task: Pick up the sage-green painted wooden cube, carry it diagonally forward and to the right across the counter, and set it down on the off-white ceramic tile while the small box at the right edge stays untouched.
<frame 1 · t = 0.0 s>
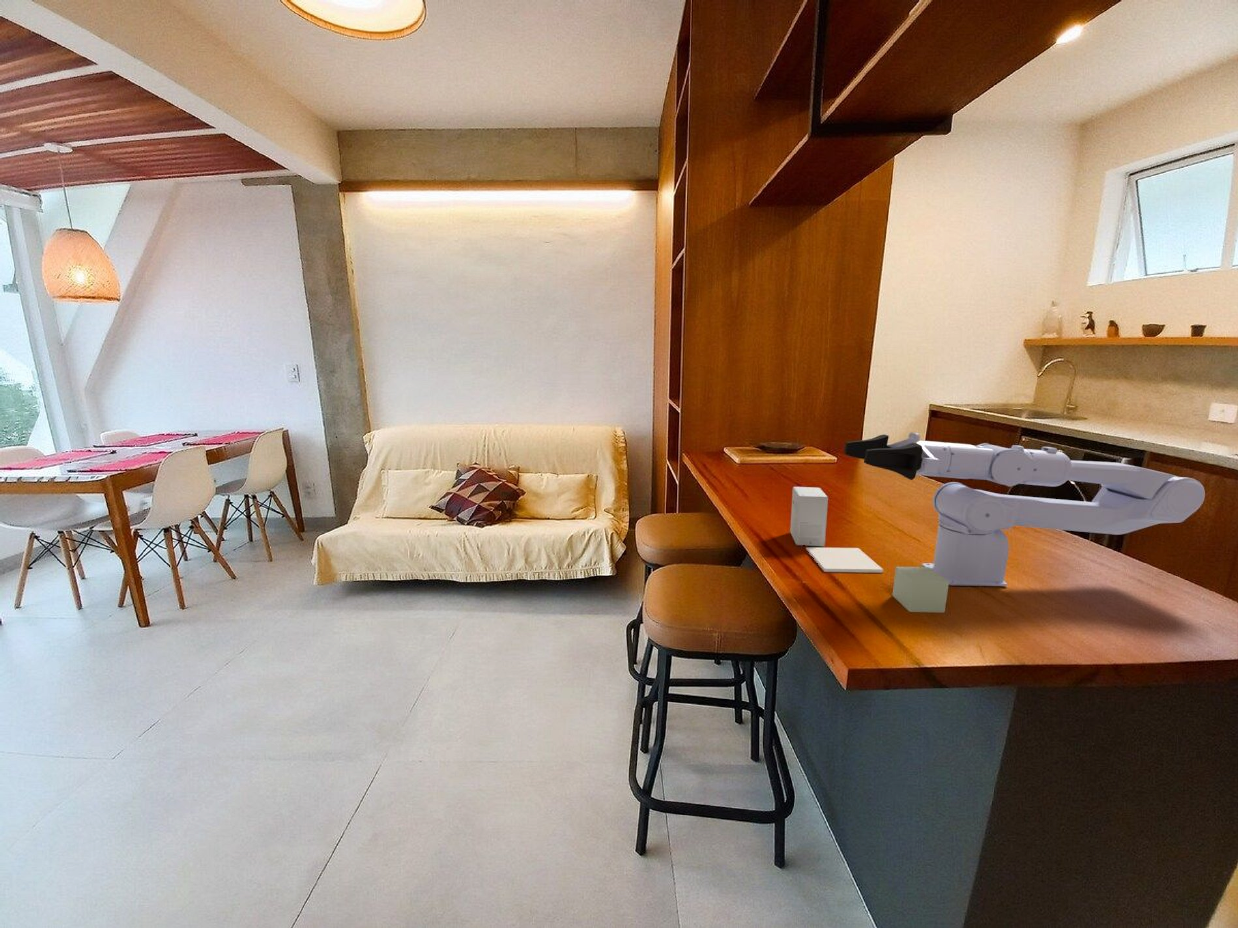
hand: (855, 452, 78), 22 cm above the table, tool horizontal, fingers open, 7 cm apart
small box: (806, 540, 99), on the table
cube: (917, 604, 72), on the table
tile: (842, 560, 88), on the table
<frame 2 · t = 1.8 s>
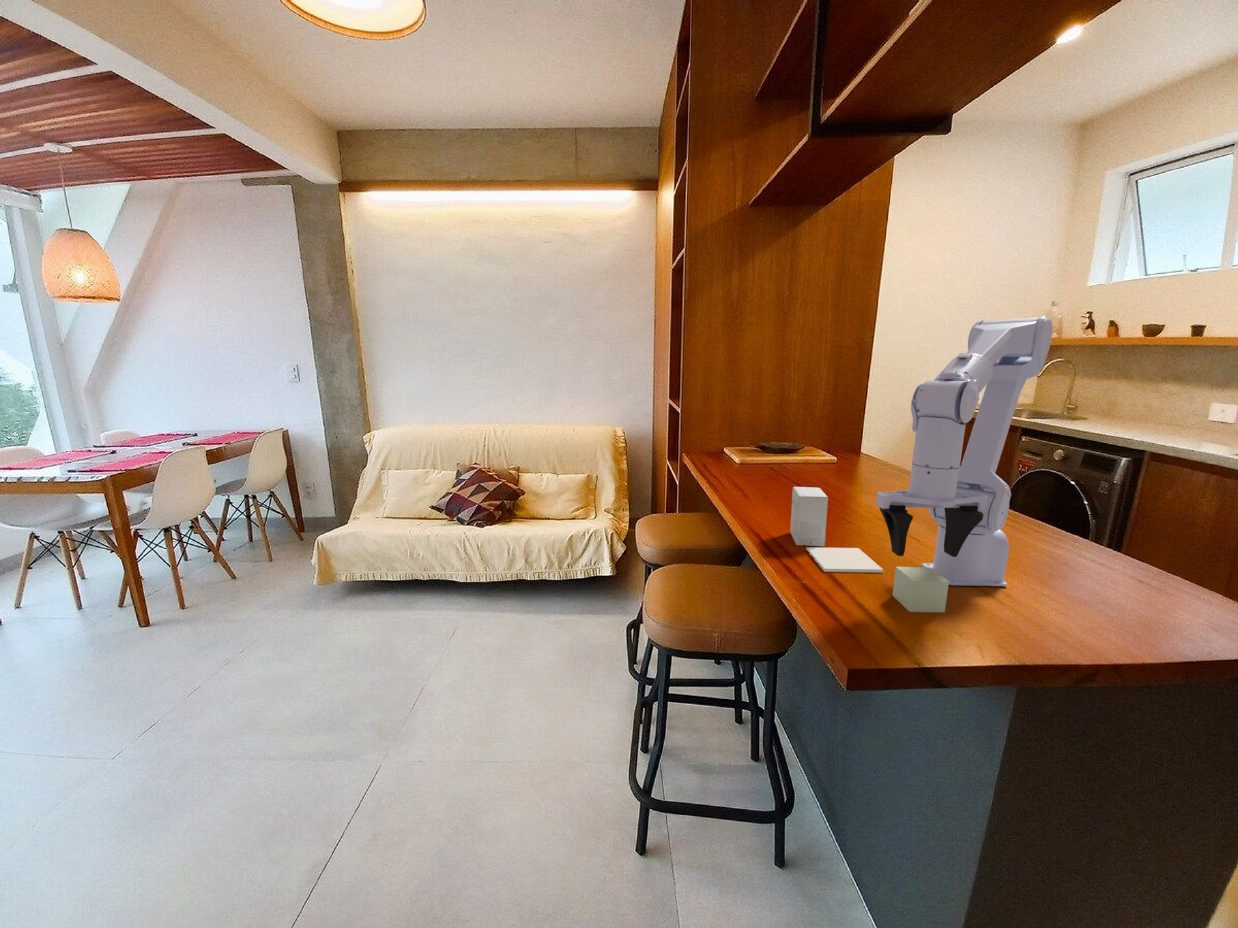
hand: (923, 553, 70), 8 cm above the table, tool pointing down, fingers open, 7 cm apart
nothing on the table moved.
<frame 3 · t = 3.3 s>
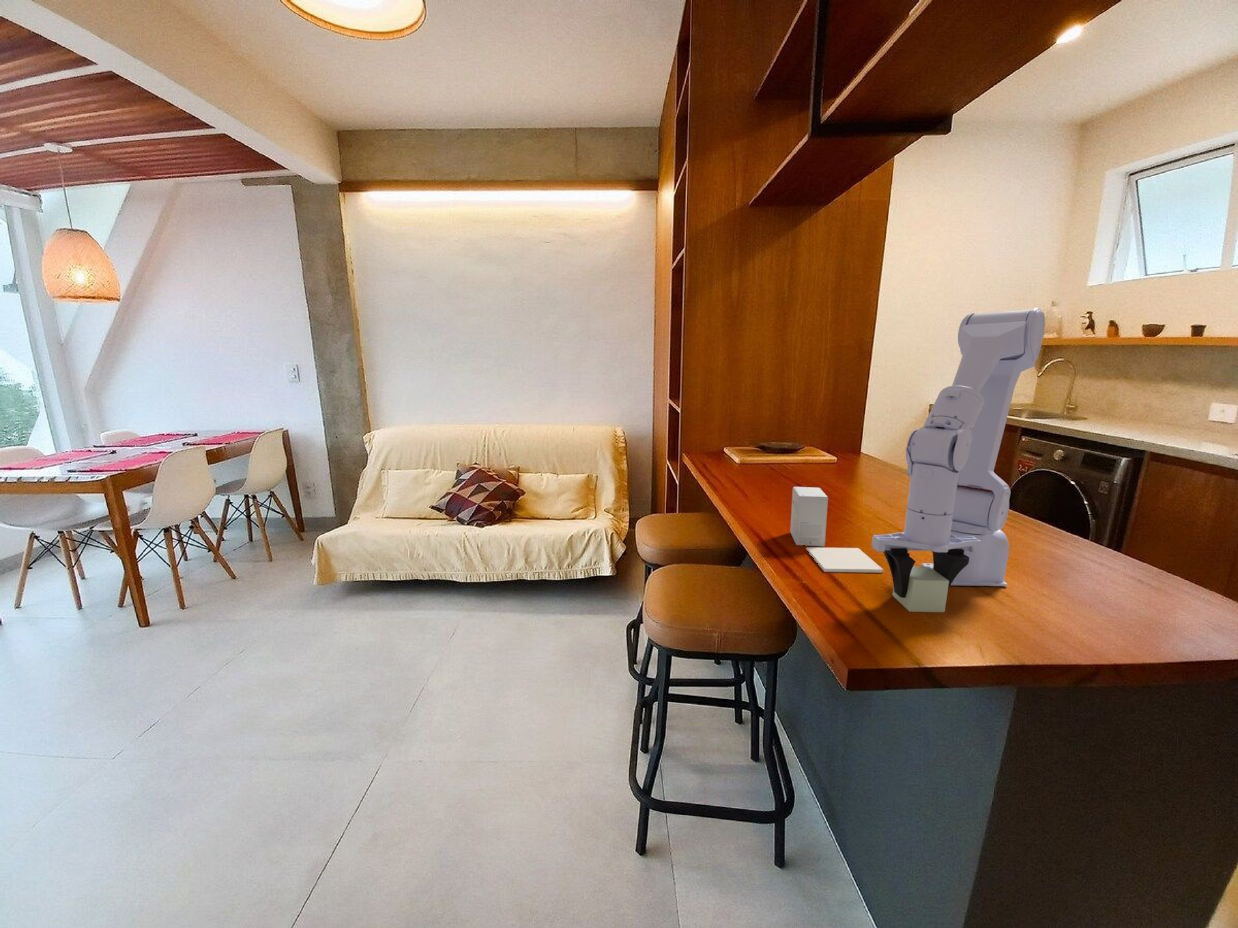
hand: (918, 594, 72), 1 cm above the table, tool pointing down, fingers closed on cube, 5 cm apart
cube: (917, 603, 72), on the table, touching gripper
everything else where it was.
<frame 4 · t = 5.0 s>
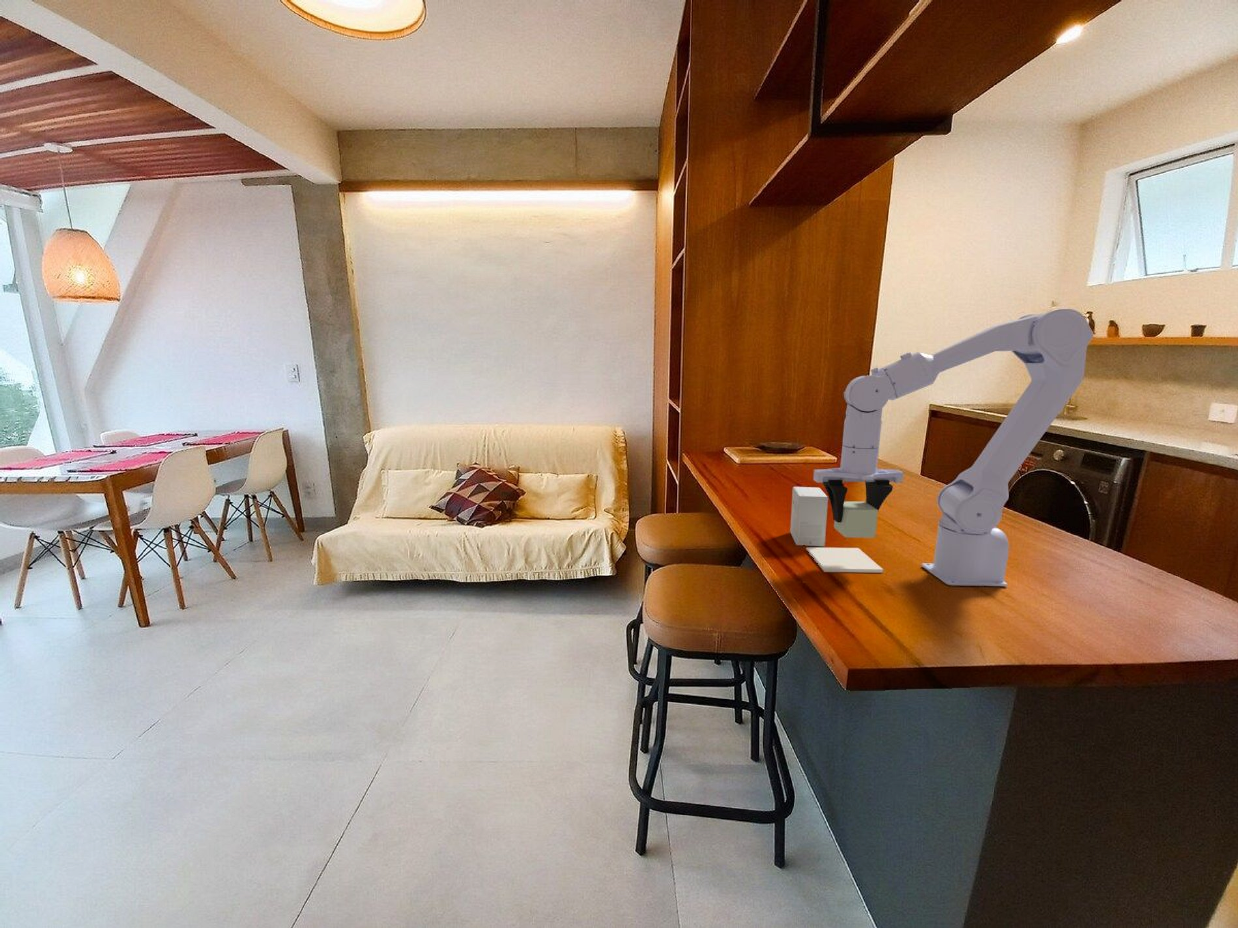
hand: (853, 520, 85), 8 cm above the table, tool pointing down, fingers closed on cube, 5 cm apart
cube: (853, 532, 84), point 7 cm above the table, touching gripper
everything else where it was.
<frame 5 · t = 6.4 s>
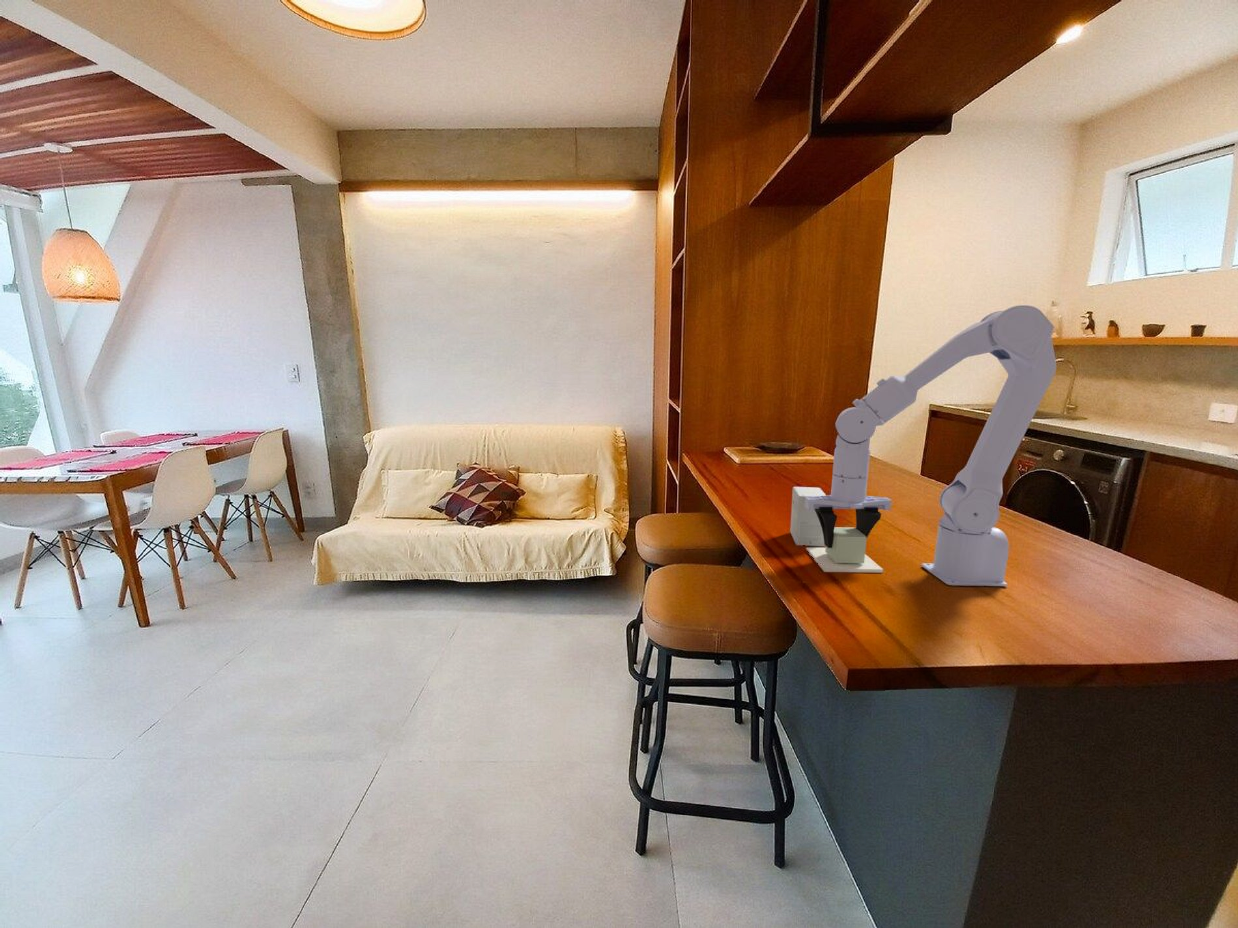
hand: (843, 546, 87), 3 cm above the table, tool pointing down, fingers closed on cube, 5 cm apart
cube: (844, 557, 87), point 1 cm above the table, touching gripper
everything else where it was.
when the fingers open (3 cm above the table, at t = 7.1 s): cube stays where it is, resting on tile.
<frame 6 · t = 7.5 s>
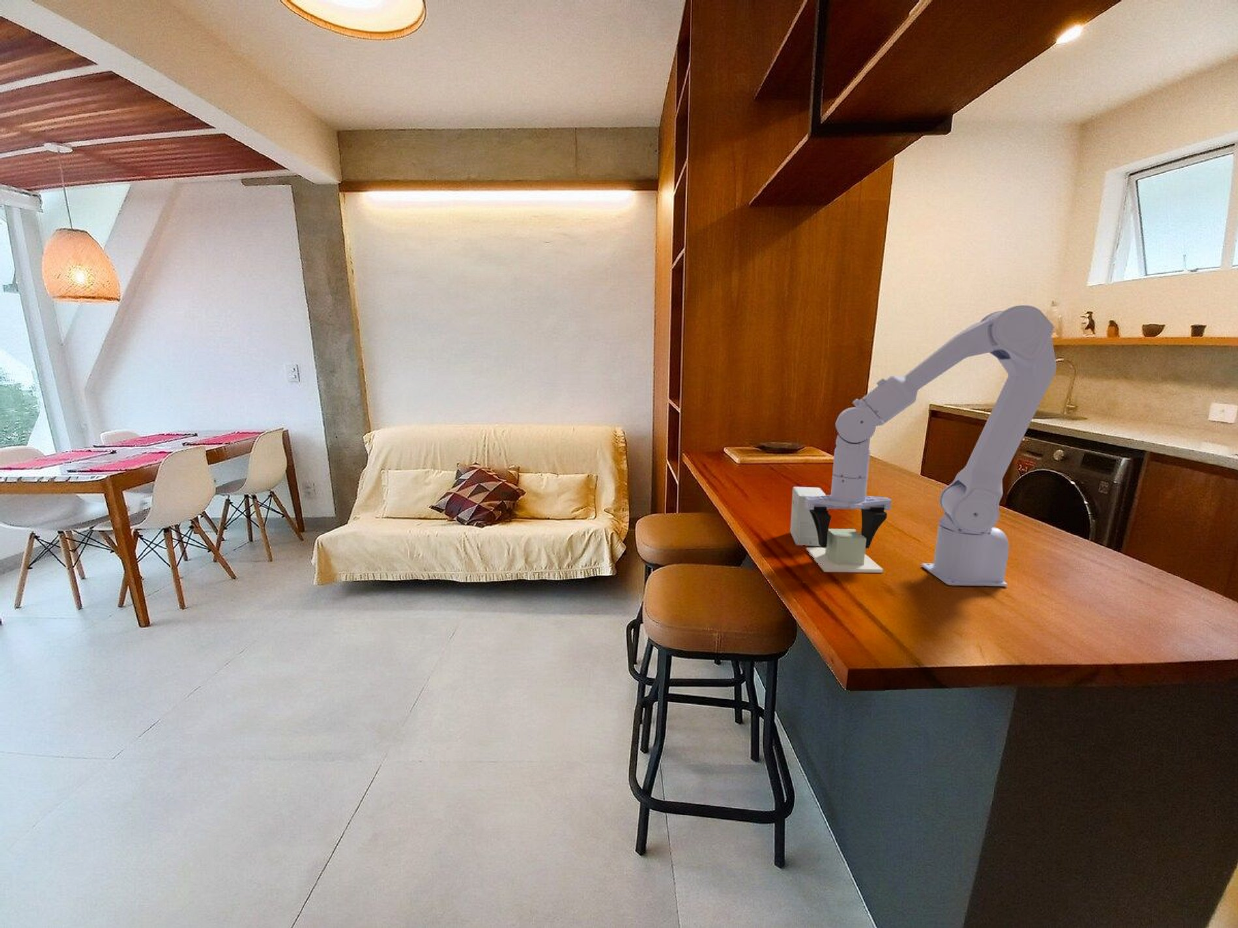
hand: (843, 546, 87), 3 cm above the table, tool pointing down, fingers open, 7 cm apart
cube: (843, 559, 87), point 1 cm above the table, touching tile
everything else where it was.
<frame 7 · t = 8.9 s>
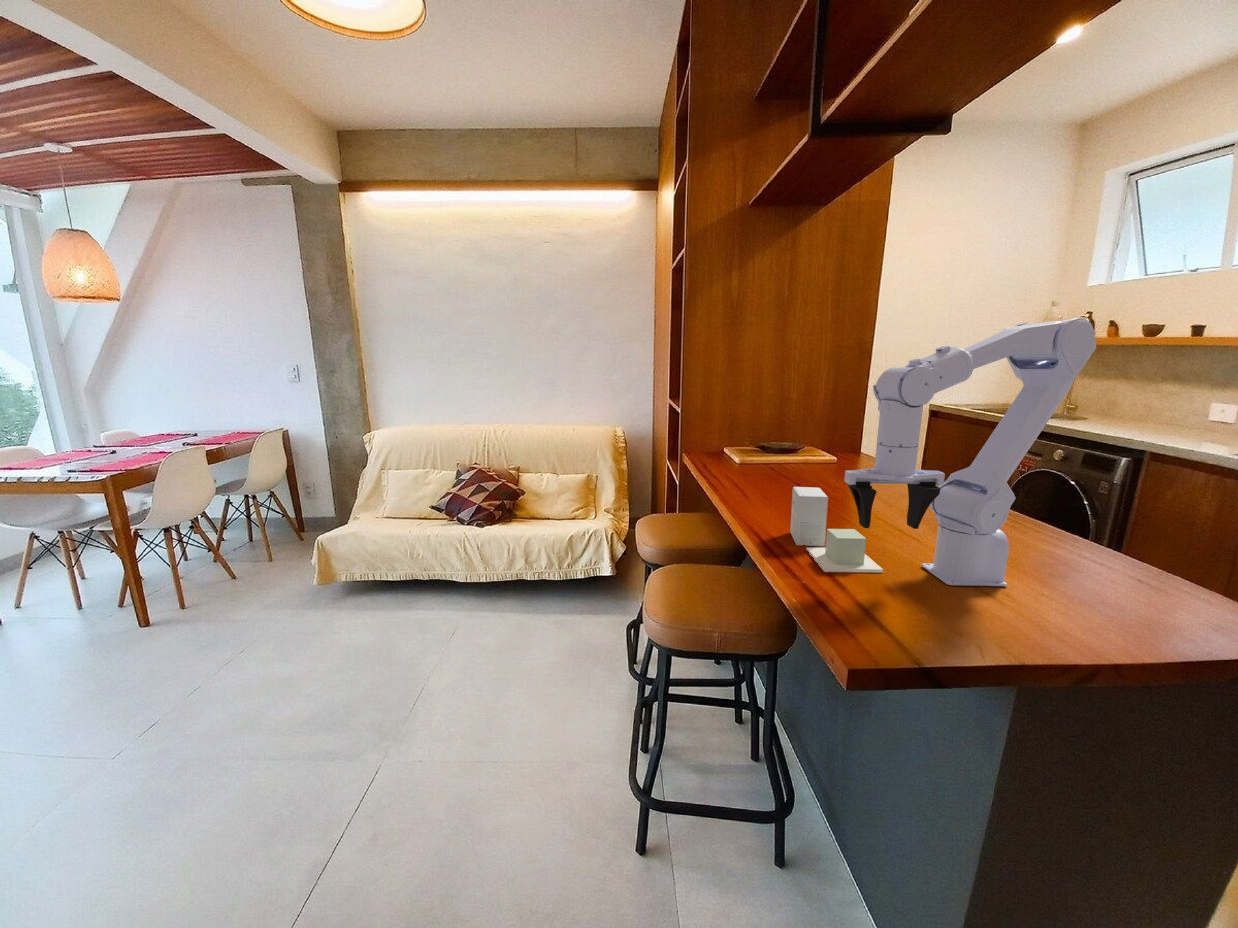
hand: (888, 526, 77), 10 cm above the table, tool pointing down, fingers open, 7 cm apart
nothing on the table moved.
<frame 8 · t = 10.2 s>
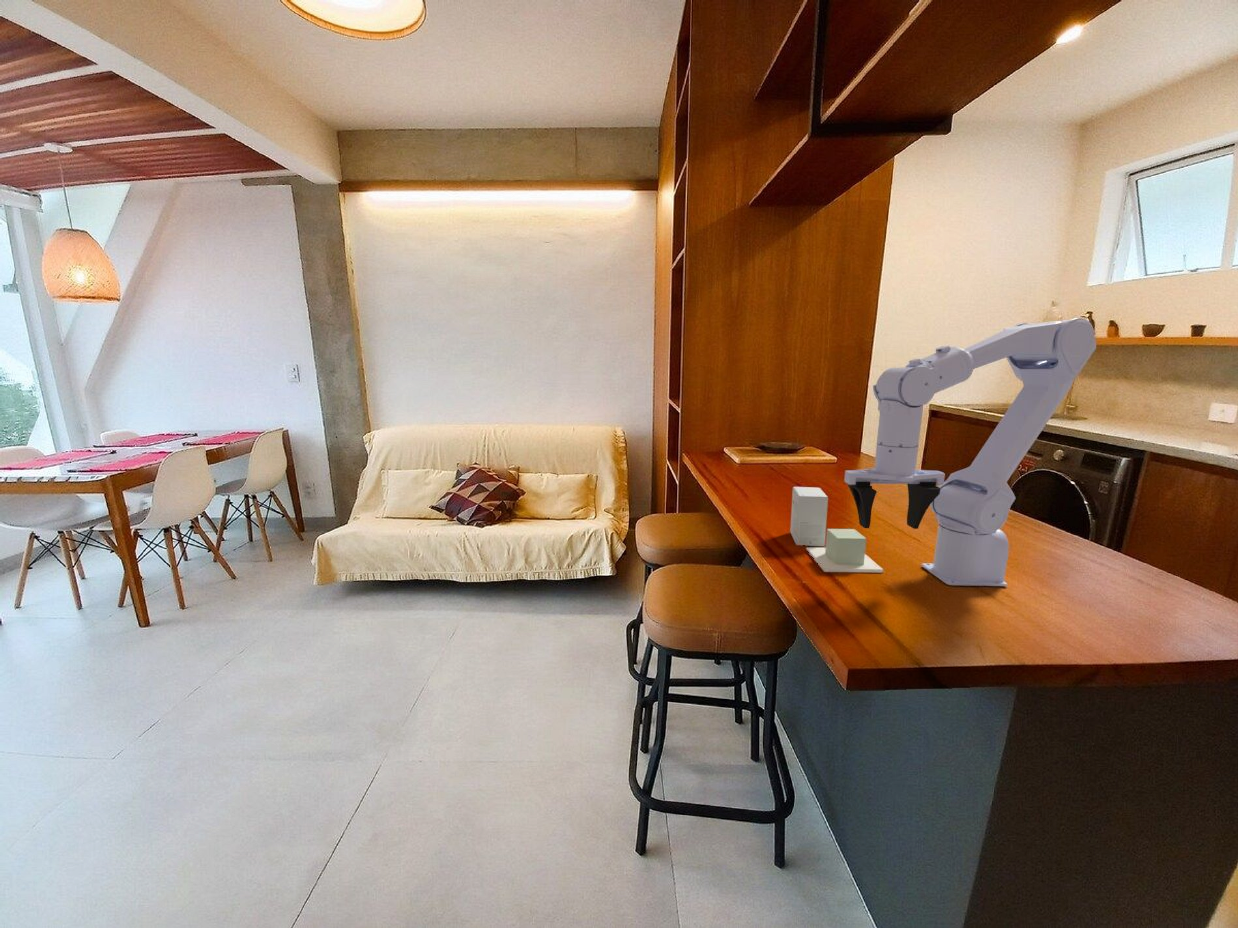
hand: (888, 526, 77), 10 cm above the table, tool pointing down, fingers open, 7 cm apart
nothing on the table moved.
at the end: cube inside the target area on the tile (0.6 cm from its centre), point 0.6 cm above the tile's base; cube tilted 0°; the gripper is holding nothing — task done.
